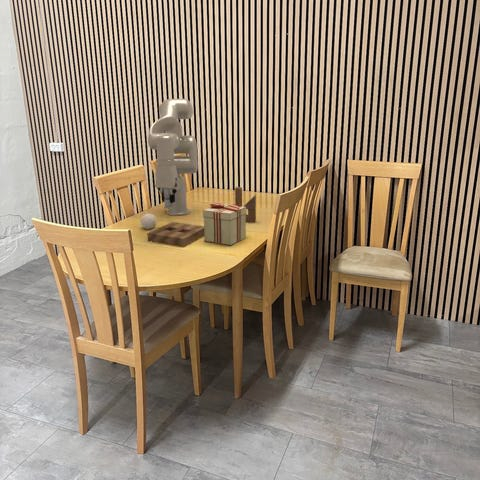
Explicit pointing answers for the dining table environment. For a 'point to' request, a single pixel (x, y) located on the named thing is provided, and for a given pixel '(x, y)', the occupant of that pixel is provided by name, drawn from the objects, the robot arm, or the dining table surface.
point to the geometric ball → (148, 221)
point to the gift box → (224, 223)
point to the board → (176, 234)
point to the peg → (167, 198)
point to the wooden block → (246, 205)
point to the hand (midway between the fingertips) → (168, 201)
